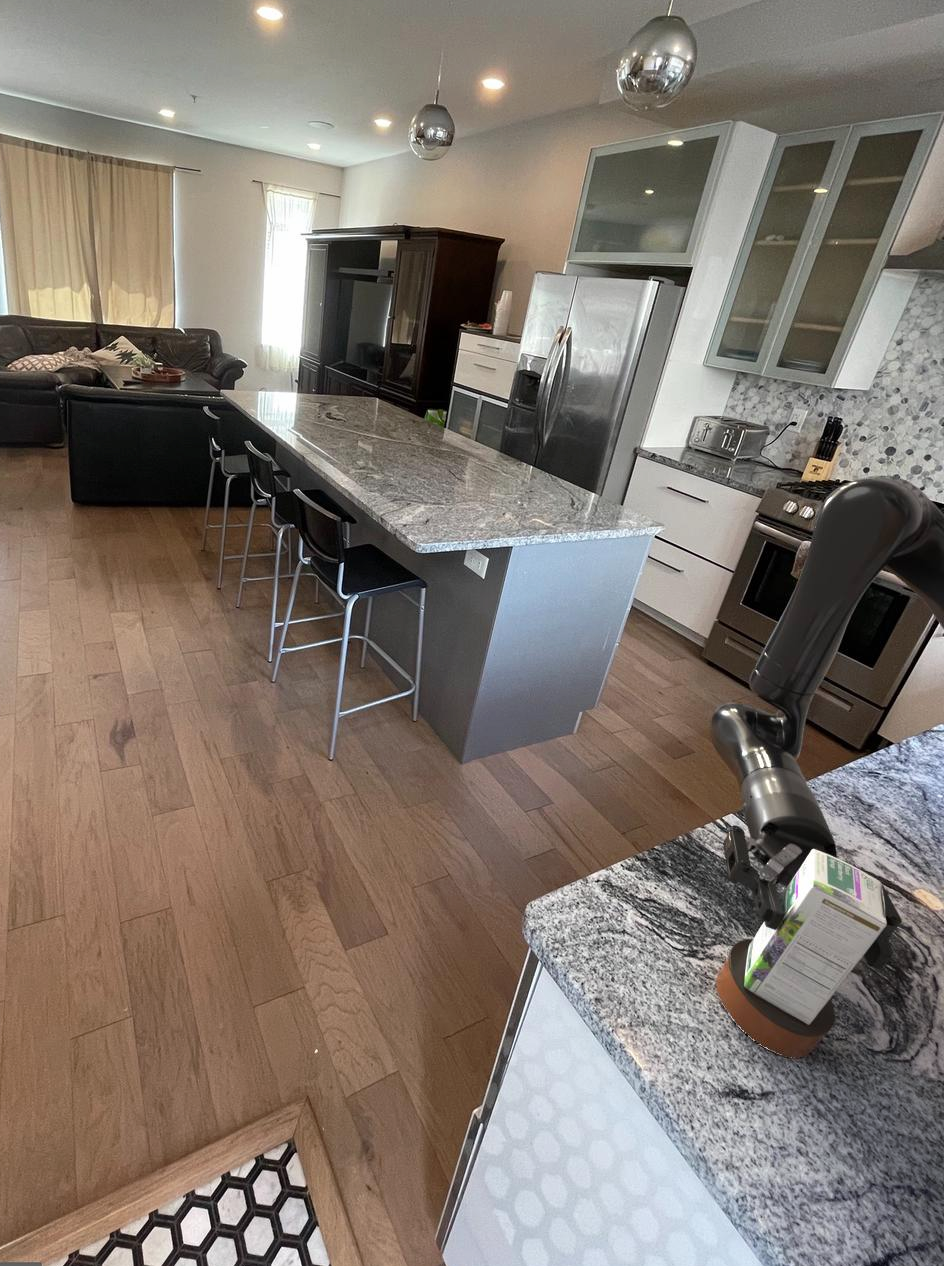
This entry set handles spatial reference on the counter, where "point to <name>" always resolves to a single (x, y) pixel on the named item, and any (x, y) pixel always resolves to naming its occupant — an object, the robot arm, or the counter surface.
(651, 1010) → the counter surface
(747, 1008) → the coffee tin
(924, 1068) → the counter surface
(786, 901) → the syrup box
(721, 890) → the counter surface
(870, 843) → the counter surface
